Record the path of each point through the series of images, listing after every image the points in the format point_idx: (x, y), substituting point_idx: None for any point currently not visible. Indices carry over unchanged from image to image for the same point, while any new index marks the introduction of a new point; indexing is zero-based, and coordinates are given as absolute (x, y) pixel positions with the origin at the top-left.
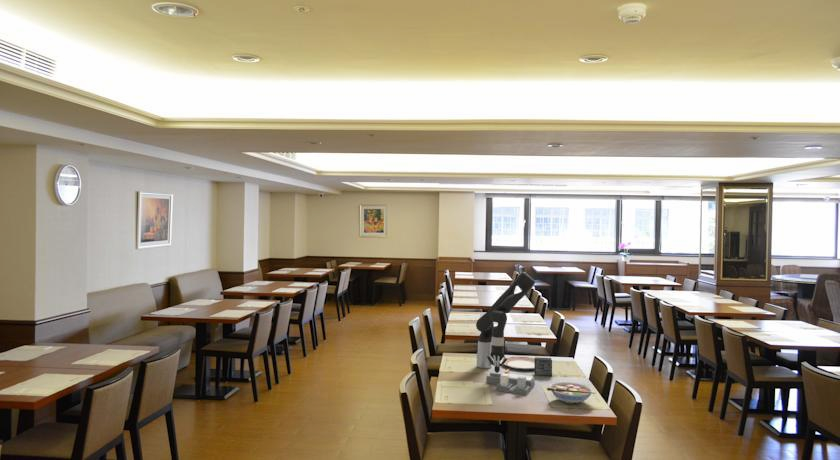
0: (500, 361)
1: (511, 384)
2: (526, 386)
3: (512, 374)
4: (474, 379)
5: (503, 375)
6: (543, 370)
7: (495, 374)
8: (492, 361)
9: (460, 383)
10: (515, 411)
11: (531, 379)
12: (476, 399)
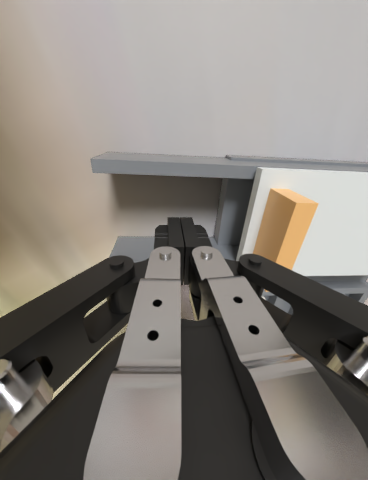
0: (244, 281)
1: (281, 299)
2: (356, 293)
3: (317, 192)
4: (13, 212)
5: None
6: None
7: (151, 173)
8: (94, 295)
9: (5, 309)
10: None
11: None
12: None
